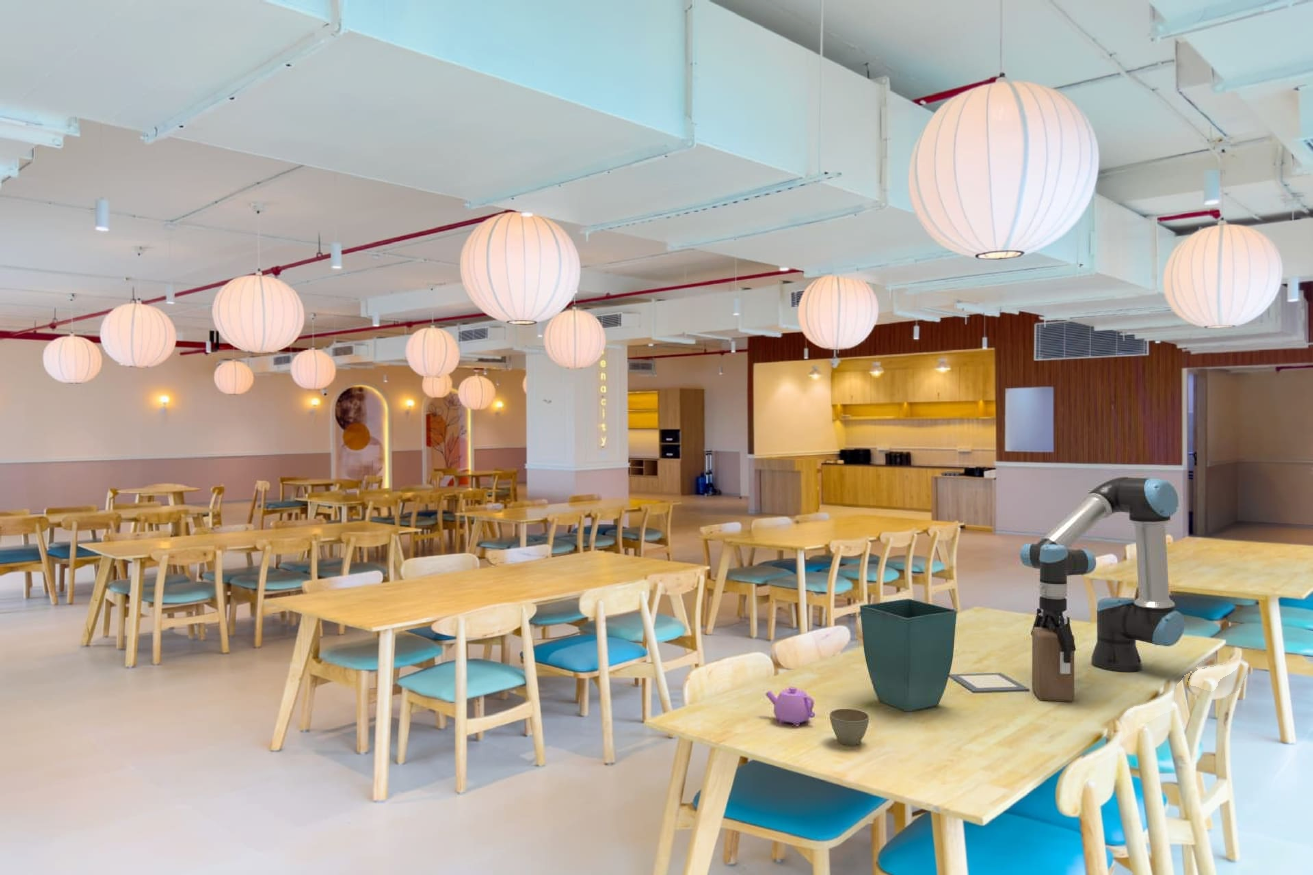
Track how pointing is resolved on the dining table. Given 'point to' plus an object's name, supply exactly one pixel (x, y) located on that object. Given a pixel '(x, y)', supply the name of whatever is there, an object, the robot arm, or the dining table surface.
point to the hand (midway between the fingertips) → (1052, 667)
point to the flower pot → (908, 651)
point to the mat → (988, 682)
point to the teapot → (792, 705)
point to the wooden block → (1050, 667)
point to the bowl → (849, 725)
